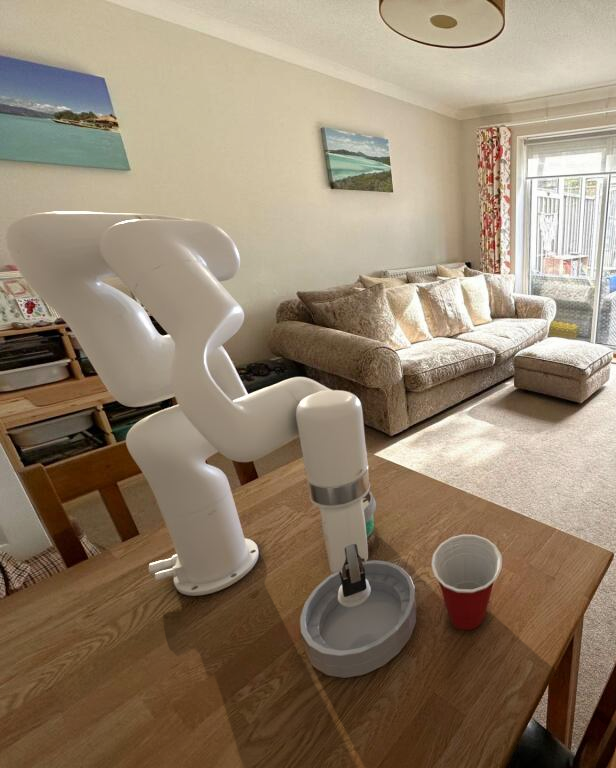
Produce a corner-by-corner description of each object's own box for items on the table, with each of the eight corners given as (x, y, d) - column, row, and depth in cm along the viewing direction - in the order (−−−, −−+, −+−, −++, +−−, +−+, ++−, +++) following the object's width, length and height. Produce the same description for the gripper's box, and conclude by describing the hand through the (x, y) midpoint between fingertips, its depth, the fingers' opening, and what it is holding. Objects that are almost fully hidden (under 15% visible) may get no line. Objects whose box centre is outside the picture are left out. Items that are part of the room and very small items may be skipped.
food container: (360, 573, 73) (351, 529, 69) (329, 568, 74) (319, 524, 70) (392, 527, 84) (386, 486, 80) (365, 523, 85) (358, 483, 81)
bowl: (310, 702, 53) (304, 677, 52) (302, 605, 67) (297, 583, 65) (430, 645, 61) (428, 622, 59) (401, 569, 74) (399, 548, 72)
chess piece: (366, 577, 65) (362, 538, 62) (374, 599, 61) (370, 559, 58) (335, 589, 62) (329, 549, 59) (341, 613, 59) (334, 572, 56)
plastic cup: (475, 660, 59) (474, 601, 55) (420, 624, 64) (415, 567, 60) (513, 605, 68) (515, 550, 63) (462, 577, 73) (461, 524, 68)
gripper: (303, 457, 59) (320, 554, 66) (314, 529, 46) (333, 640, 52) (358, 446, 62) (368, 539, 69) (381, 510, 49) (391, 616, 56)
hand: (353, 582), depth 61 cm, fingers closed on chess piece, 2 cm apart
